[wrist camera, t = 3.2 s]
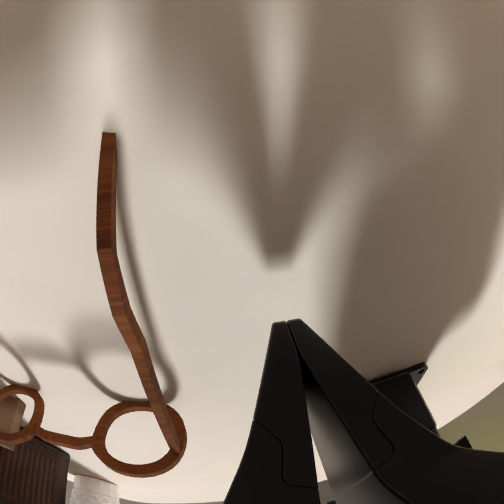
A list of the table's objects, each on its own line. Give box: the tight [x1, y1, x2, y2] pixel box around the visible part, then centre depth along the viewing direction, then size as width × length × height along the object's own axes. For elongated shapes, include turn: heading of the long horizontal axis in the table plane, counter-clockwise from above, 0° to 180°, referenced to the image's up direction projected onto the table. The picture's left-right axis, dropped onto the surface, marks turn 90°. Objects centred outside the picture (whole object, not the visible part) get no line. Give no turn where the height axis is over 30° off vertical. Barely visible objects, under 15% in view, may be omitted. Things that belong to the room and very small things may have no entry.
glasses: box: [0, 132, 187, 478], centre depth 7 cm, size 13×13×5 cm
